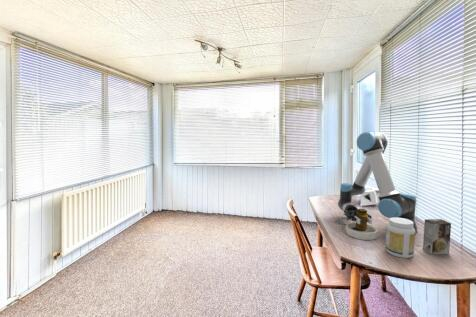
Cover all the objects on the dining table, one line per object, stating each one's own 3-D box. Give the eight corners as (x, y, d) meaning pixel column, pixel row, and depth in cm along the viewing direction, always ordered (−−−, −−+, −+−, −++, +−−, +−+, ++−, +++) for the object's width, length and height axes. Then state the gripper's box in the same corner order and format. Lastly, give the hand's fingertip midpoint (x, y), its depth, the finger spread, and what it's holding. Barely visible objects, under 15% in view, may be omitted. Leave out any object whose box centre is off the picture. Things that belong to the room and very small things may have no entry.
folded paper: (362, 186, 207) (385, 189, 202) (357, 181, 230) (378, 184, 225) (359, 206, 209) (382, 210, 204) (355, 199, 232) (375, 202, 227)
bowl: (381, 234, 151) (381, 227, 151) (372, 242, 139) (372, 235, 139) (351, 226, 163) (352, 220, 163) (341, 234, 151) (341, 227, 150)
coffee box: (438, 248, 132) (441, 218, 131) (449, 254, 126) (452, 223, 124) (421, 248, 132) (424, 218, 130) (431, 254, 126) (434, 223, 124)
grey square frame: (363, 222, 172) (363, 221, 172) (356, 227, 162) (356, 227, 162) (342, 217, 181) (342, 217, 181) (334, 222, 171) (334, 221, 171)
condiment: (369, 230, 150) (371, 210, 149) (361, 233, 146) (362, 213, 144) (358, 226, 156) (359, 207, 155) (349, 228, 152) (351, 209, 150)
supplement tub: (403, 247, 133) (406, 216, 131) (419, 259, 121) (422, 225, 119) (380, 247, 133) (382, 216, 132) (393, 258, 121) (395, 224, 120)
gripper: (364, 215, 168) (382, 228, 145) (335, 214, 169) (348, 227, 146) (365, 204, 167) (383, 216, 144) (336, 204, 168) (348, 215, 145)
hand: (365, 222), depth 145 cm, fingers closed on condiment, 6 cm apart
